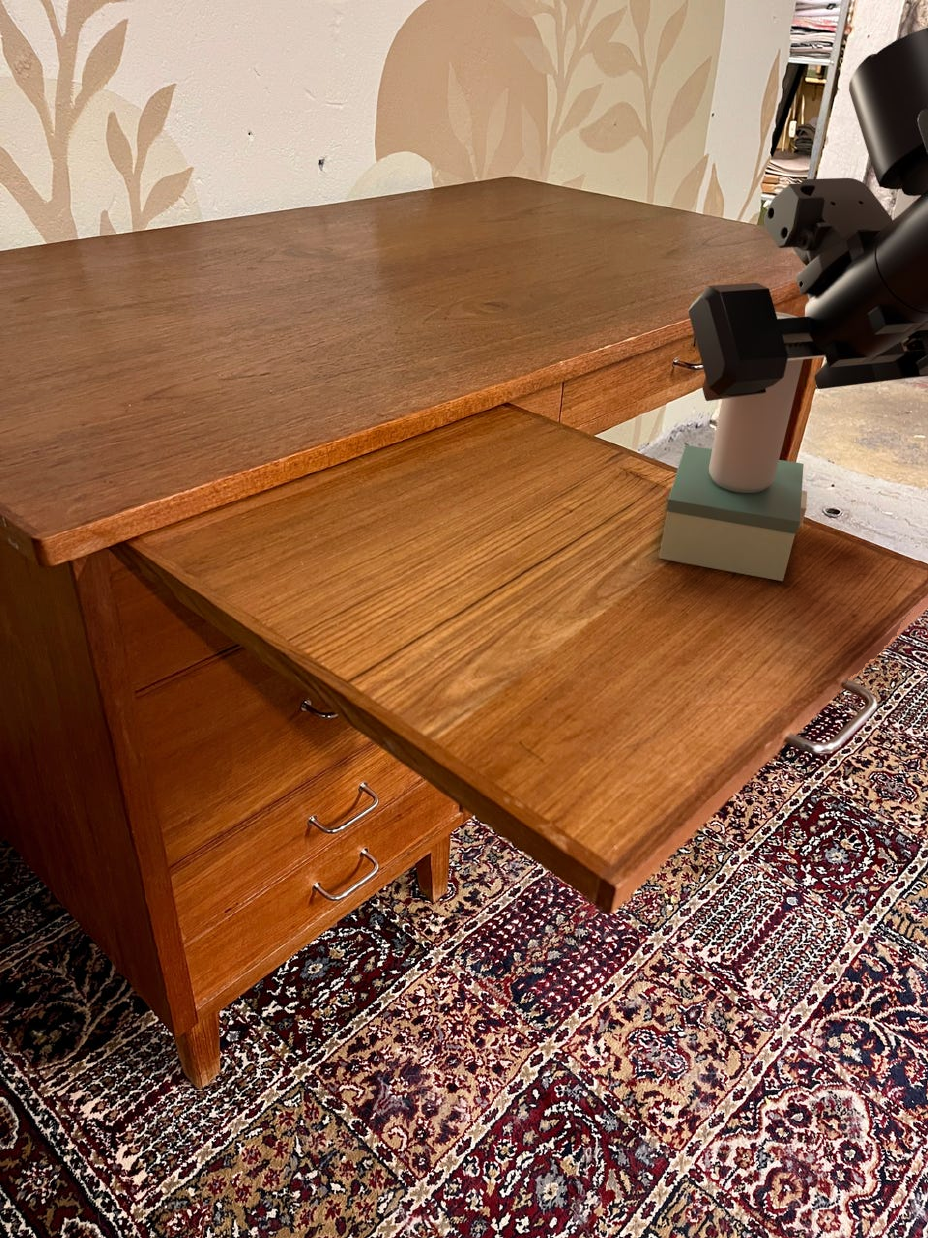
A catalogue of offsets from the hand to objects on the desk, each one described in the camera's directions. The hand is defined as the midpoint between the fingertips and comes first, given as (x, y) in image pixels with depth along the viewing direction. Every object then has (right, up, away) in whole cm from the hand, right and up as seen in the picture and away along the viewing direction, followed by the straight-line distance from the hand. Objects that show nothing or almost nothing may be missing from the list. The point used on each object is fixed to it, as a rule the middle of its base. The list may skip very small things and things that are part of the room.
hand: (762, 388), depth 68 cm
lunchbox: (-1, -10, +7) cm, 12 cm away
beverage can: (0, -6, +5) cm, 8 cm away
